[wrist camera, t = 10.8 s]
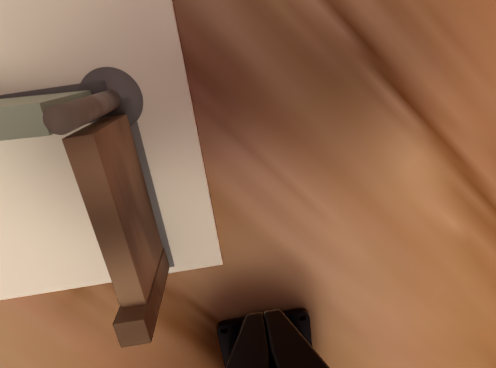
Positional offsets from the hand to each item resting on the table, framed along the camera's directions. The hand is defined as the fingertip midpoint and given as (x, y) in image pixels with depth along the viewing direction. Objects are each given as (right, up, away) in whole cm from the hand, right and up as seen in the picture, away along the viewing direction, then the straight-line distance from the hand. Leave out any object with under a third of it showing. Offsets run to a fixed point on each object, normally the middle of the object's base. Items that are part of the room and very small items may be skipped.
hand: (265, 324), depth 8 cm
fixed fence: (-7, +3, +11) cm, 13 cm away
